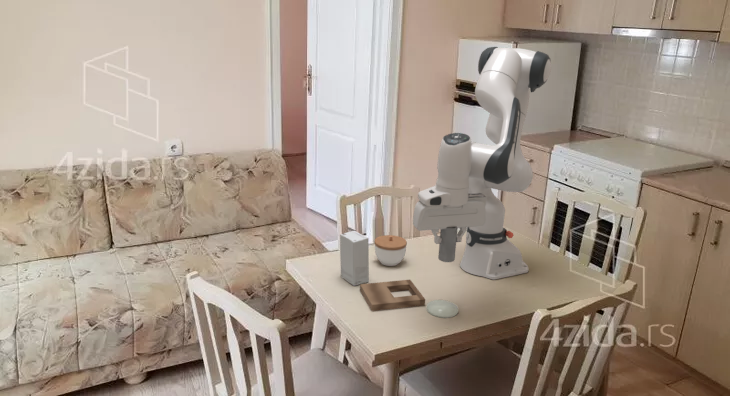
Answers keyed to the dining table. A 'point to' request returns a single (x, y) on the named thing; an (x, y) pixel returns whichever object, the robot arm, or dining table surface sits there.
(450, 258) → the grey cylinder
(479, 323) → the dining table surface
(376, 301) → the pocket board
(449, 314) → the saucer
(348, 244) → the skincare box
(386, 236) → the lidded jar
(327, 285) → the dining table surface
